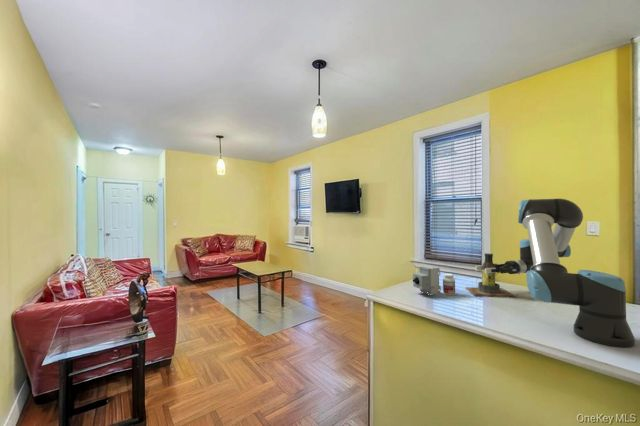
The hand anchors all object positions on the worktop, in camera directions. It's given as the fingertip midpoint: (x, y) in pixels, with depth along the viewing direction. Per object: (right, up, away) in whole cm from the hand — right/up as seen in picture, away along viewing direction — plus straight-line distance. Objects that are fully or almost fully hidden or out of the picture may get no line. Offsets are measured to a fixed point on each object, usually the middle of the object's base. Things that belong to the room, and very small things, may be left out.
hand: (480, 269), depth 150 cm
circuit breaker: (-30, -15, +3) cm, 33 cm away
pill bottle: (-17, -14, +1) cm, 22 cm away
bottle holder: (+5, -14, +1) cm, 15 cm away
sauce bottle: (+5, -11, +1) cm, 12 cm away
